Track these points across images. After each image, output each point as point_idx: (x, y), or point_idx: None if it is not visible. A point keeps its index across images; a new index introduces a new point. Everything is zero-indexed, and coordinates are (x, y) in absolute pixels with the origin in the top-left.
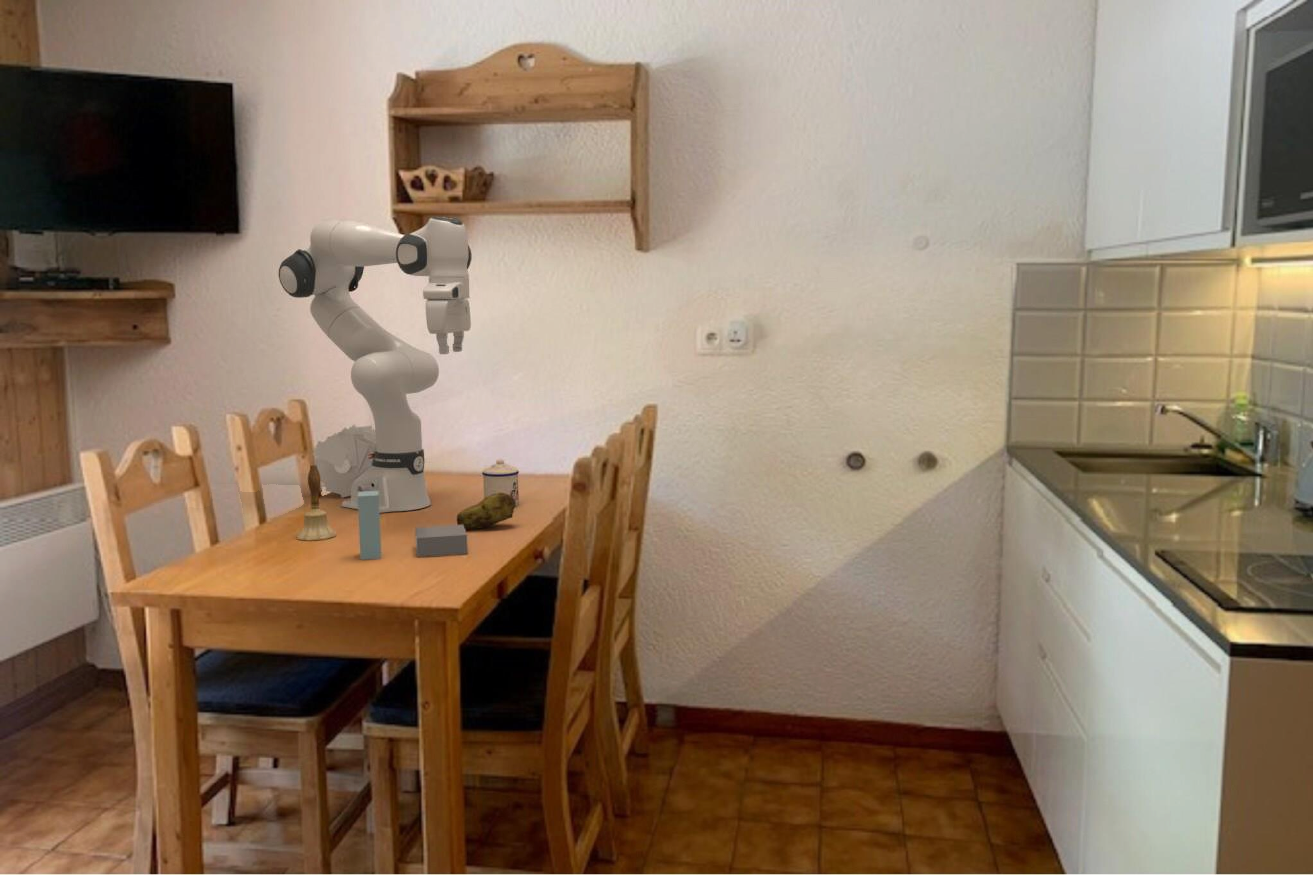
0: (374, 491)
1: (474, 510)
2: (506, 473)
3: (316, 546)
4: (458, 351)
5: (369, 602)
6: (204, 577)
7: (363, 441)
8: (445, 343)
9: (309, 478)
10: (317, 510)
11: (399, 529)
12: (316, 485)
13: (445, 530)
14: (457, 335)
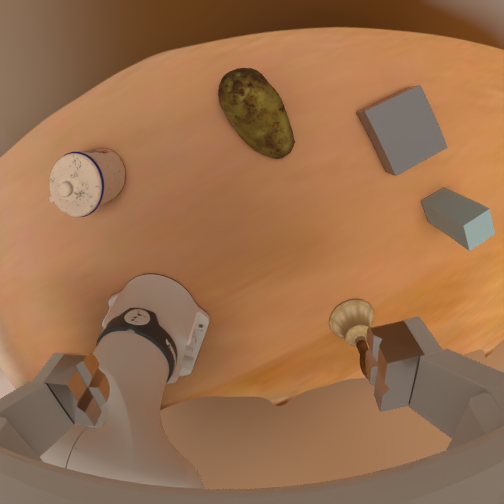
0: (467, 228)
1: (287, 123)
2: (91, 161)
3: (397, 291)
4: (94, 359)
5: None
6: (493, 311)
7: (98, 422)
8: (468, 365)
9: None
10: (363, 334)
11: (296, 242)
12: None
13: (404, 123)
14: (26, 449)
